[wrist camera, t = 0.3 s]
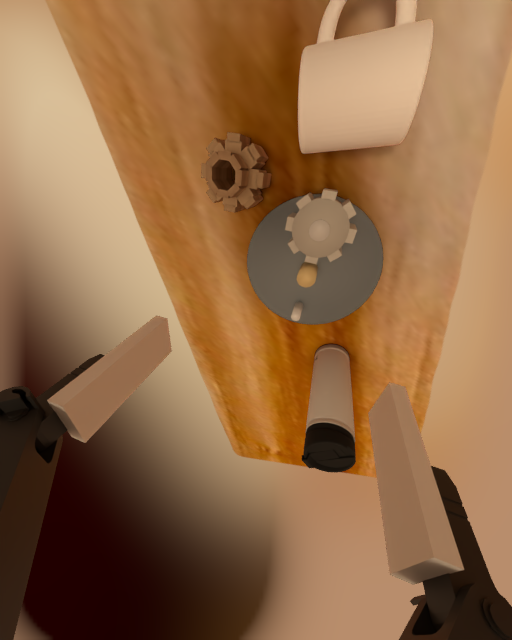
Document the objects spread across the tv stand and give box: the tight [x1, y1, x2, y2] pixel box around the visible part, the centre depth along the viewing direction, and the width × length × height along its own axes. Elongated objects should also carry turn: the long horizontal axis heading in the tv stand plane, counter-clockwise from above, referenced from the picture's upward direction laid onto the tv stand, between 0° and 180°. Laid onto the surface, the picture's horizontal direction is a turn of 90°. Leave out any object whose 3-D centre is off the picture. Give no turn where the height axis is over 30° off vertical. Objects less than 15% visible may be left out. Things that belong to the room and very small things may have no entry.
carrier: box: [247, 188, 383, 324], centre depth 33 cm, size 21×20×6 cm
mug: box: [298, 0, 434, 154], centre depth 21 cm, size 12×10×8 cm
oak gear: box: [201, 132, 271, 212], centre depth 29 cm, size 8×8×6 cm
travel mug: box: [302, 344, 356, 472], centre depth 35 cm, size 6×7×20 cm
